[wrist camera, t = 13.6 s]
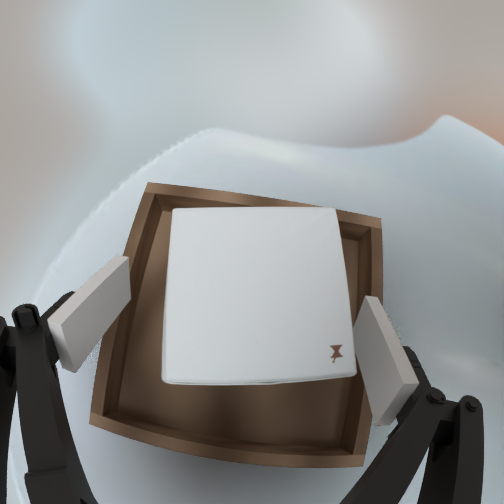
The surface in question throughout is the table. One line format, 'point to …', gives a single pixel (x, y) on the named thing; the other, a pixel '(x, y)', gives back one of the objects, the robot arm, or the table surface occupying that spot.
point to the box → (228, 396)
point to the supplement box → (256, 297)
